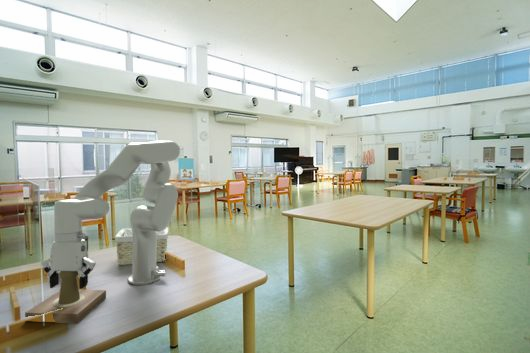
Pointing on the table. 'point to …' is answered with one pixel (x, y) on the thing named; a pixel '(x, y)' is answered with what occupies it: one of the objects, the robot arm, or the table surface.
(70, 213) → the robot arm
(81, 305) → the base
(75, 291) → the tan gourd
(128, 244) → the storage basket
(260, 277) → the table surface
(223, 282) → the table surface
